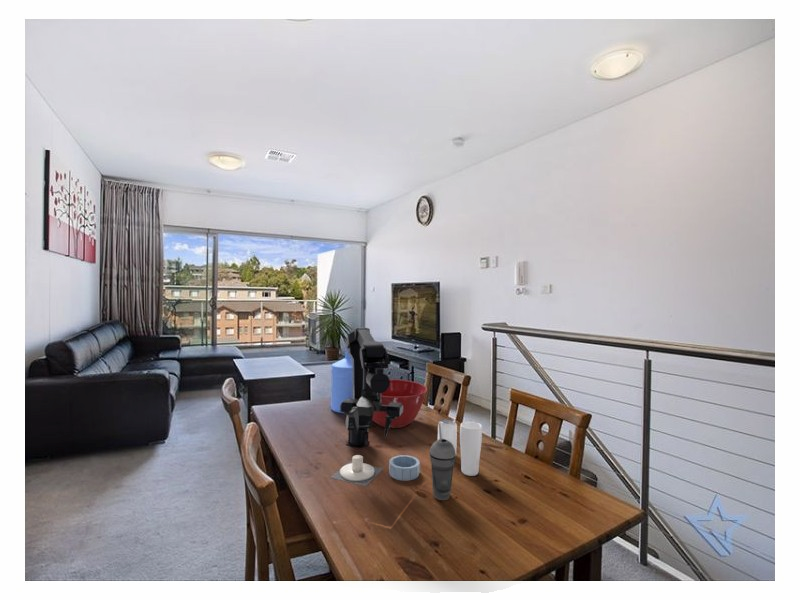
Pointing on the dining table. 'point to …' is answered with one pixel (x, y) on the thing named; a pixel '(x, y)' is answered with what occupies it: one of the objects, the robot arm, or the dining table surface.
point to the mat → (363, 483)
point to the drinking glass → (470, 447)
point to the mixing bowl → (405, 394)
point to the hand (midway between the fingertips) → (371, 434)
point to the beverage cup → (442, 467)
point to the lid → (357, 470)
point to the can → (448, 431)
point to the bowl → (404, 467)
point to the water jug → (341, 382)
